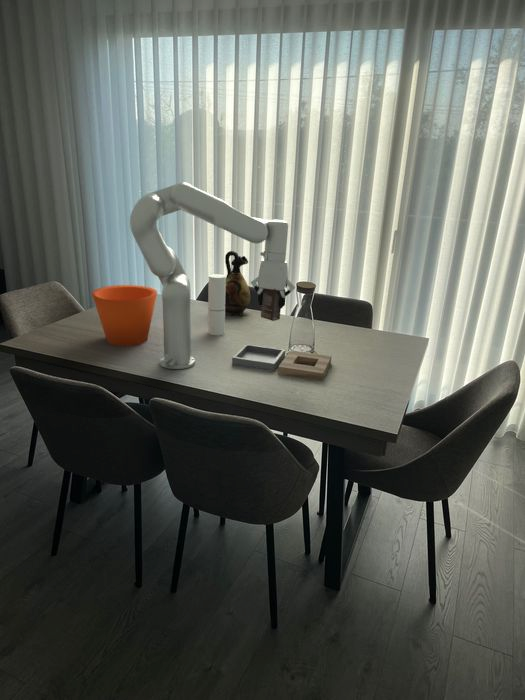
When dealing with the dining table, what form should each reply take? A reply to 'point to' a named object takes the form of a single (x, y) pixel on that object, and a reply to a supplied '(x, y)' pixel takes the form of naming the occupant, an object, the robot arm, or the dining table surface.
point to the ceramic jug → (236, 286)
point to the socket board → (305, 365)
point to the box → (271, 304)
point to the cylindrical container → (216, 304)
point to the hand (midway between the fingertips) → (271, 305)
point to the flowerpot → (125, 313)
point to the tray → (258, 357)
